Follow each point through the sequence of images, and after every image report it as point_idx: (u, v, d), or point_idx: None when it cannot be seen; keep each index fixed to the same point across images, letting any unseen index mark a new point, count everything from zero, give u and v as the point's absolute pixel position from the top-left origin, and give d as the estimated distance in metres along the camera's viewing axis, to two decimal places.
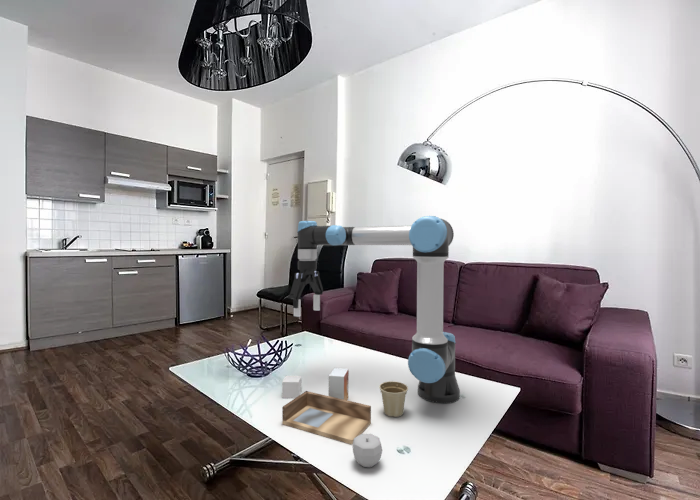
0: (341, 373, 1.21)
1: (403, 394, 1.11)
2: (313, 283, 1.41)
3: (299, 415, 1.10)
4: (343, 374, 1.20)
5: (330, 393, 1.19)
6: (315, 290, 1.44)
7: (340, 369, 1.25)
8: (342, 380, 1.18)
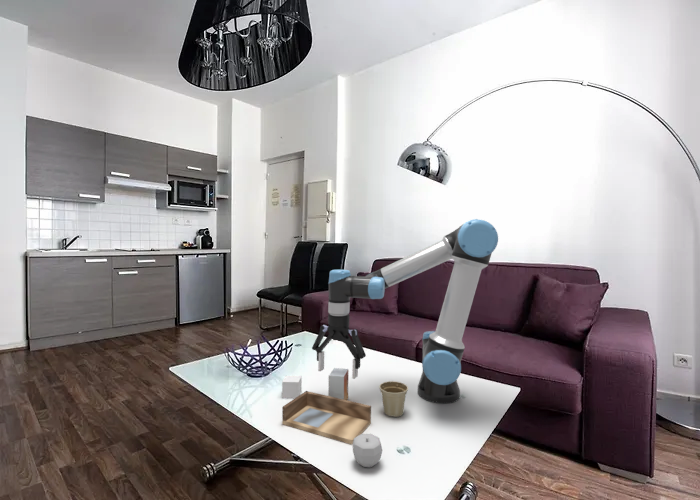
0: (341, 373, 1.21)
1: (403, 394, 1.11)
2: None
3: (299, 415, 1.10)
4: (343, 374, 1.20)
5: (330, 393, 1.19)
6: None
7: (340, 369, 1.25)
8: (342, 380, 1.18)
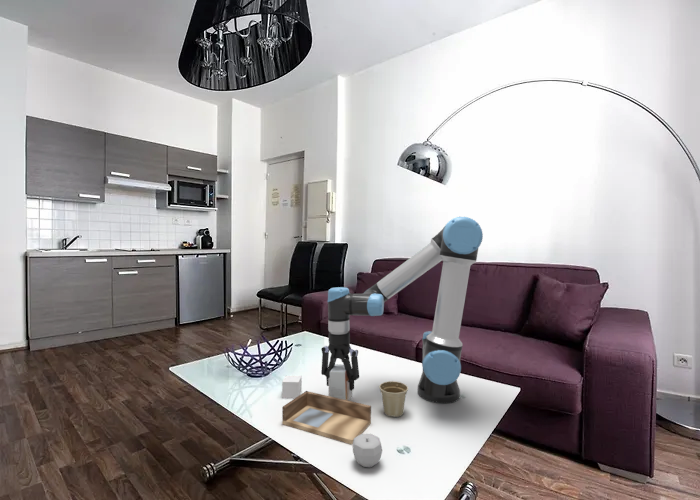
0: (342, 369, 1.21)
1: (403, 394, 1.11)
2: None
3: (299, 415, 1.10)
4: (344, 370, 1.20)
5: (331, 389, 1.19)
6: None
7: (341, 365, 1.25)
8: (343, 376, 1.18)
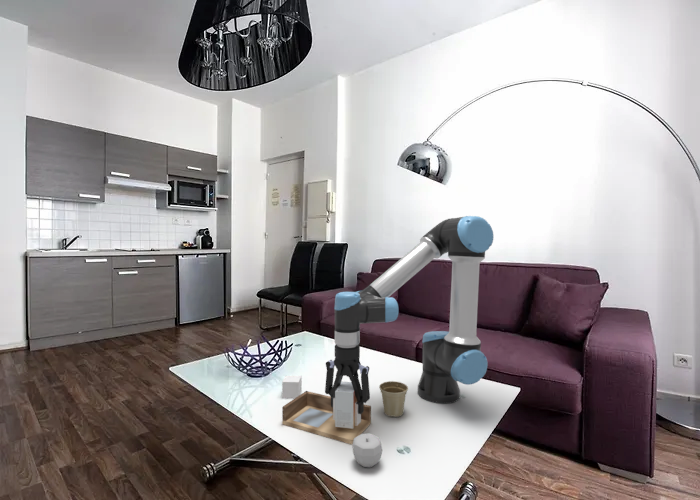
0: (350, 388, 1.03)
1: (403, 394, 1.11)
2: None
3: (299, 415, 1.10)
4: (352, 390, 1.02)
5: (337, 412, 1.01)
6: None
7: (348, 383, 1.07)
8: (351, 397, 1.00)
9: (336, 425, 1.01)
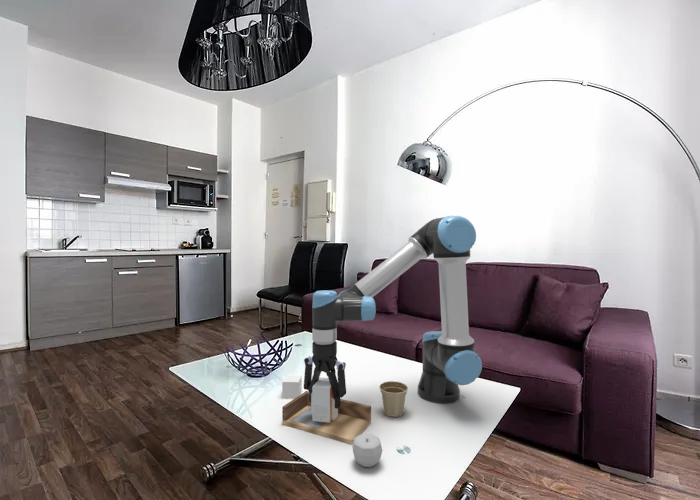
0: (327, 383, 1.06)
1: (403, 394, 1.11)
2: None
3: (299, 415, 1.10)
4: (329, 385, 1.05)
5: (314, 407, 1.04)
6: None
7: (326, 379, 1.10)
8: (328, 392, 1.03)
9: (313, 419, 1.04)
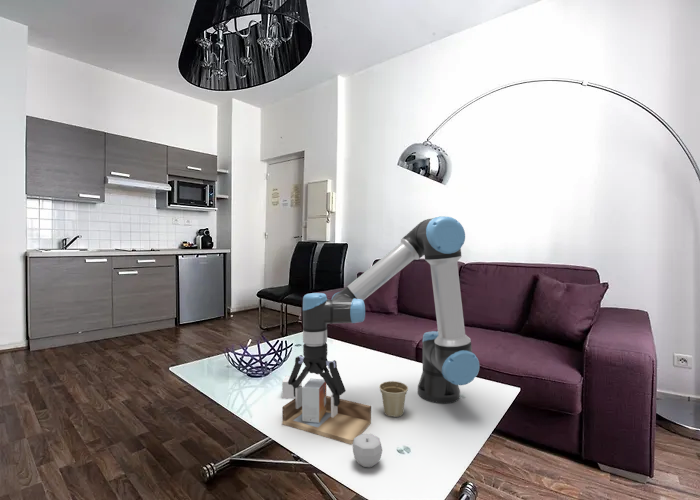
0: (317, 384, 1.08)
1: (403, 394, 1.11)
2: None
3: (299, 415, 1.10)
4: (319, 386, 1.07)
5: (304, 407, 1.06)
6: None
7: (317, 380, 1.12)
8: (317, 393, 1.05)
9: (303, 419, 1.06)
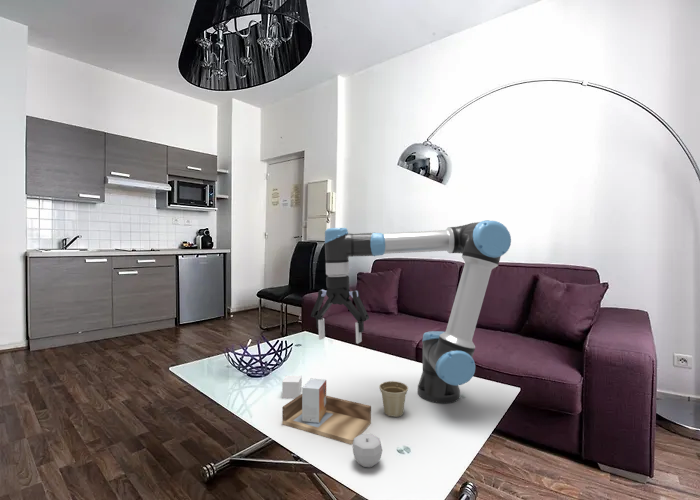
0: (317, 384, 1.08)
1: (403, 394, 1.11)
2: None
3: (299, 415, 1.10)
4: (319, 386, 1.07)
5: (304, 407, 1.06)
6: None
7: (317, 380, 1.12)
8: (317, 393, 1.05)
9: (303, 419, 1.06)
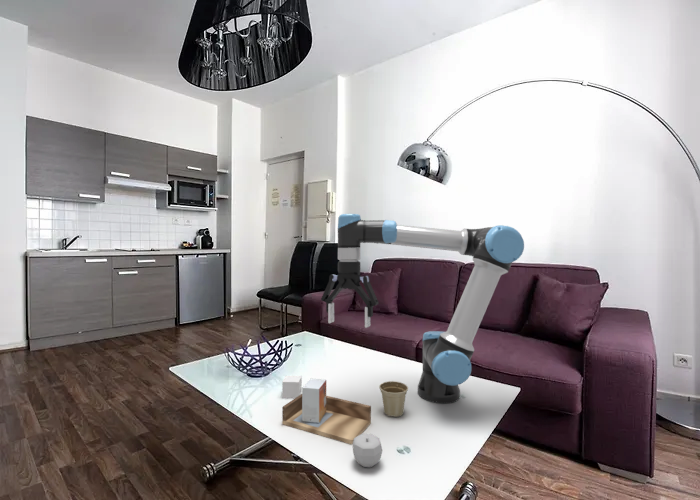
0: (317, 384, 1.08)
1: (403, 394, 1.11)
2: None
3: (299, 415, 1.10)
4: (319, 386, 1.07)
5: (304, 407, 1.06)
6: None
7: (317, 380, 1.12)
8: (317, 393, 1.05)
9: (303, 419, 1.06)
